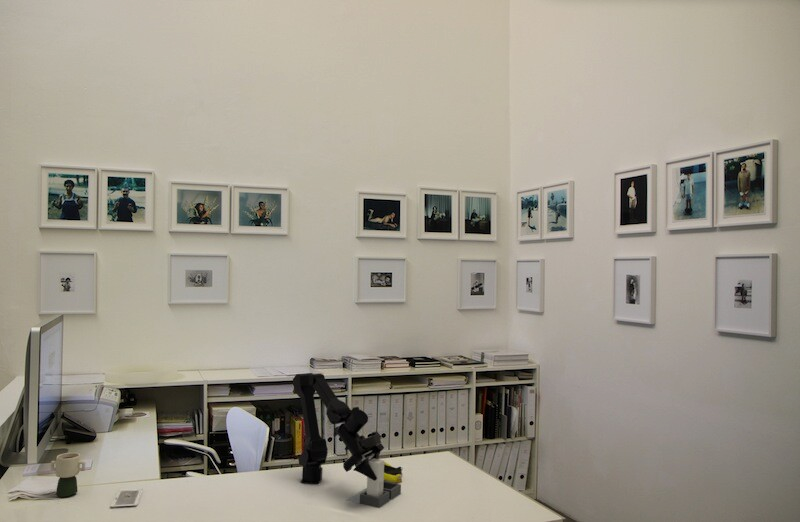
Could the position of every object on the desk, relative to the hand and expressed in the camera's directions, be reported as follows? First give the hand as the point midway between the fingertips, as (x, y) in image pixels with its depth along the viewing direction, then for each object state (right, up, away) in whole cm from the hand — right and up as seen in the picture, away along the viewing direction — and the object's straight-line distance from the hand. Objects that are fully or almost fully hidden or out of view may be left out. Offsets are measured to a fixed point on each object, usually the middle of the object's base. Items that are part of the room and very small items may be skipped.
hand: (379, 478), depth 207 cm
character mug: (-103, -6, 0) cm, 103 cm away
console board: (-2, -9, +5) cm, 11 cm away
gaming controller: (+3, -10, +25) cm, 27 cm away
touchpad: (-82, -7, -2) cm, 83 cm away
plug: (-1, -7, +1) cm, 7 cm away
